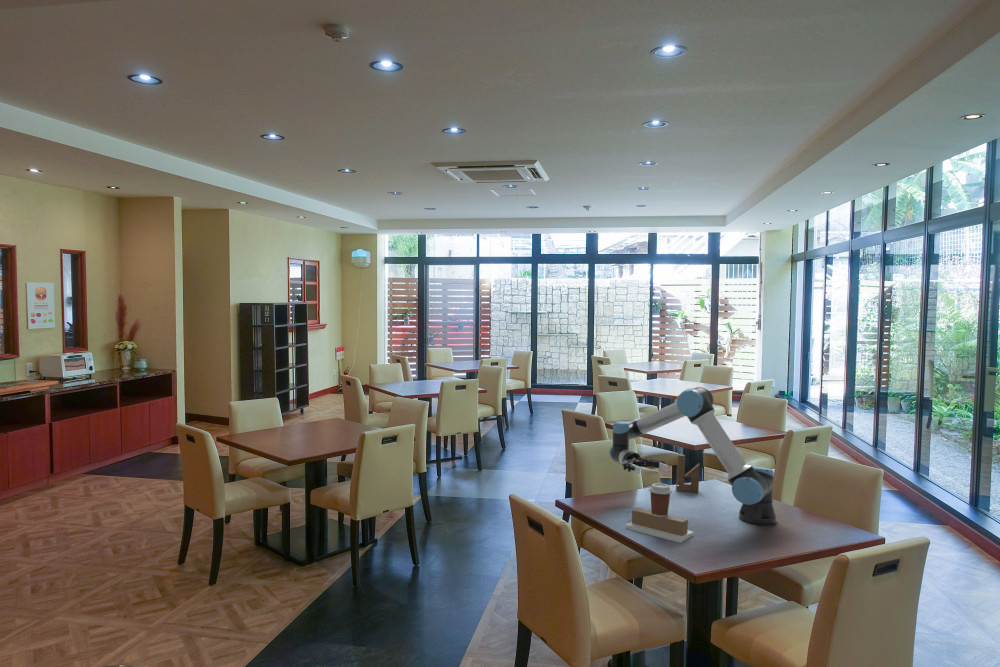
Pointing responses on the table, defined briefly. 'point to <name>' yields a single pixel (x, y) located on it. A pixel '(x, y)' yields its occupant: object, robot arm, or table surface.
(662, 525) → the stand
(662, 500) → the coffee cup
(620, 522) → the table surface
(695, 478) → the brown wooden angular stand
